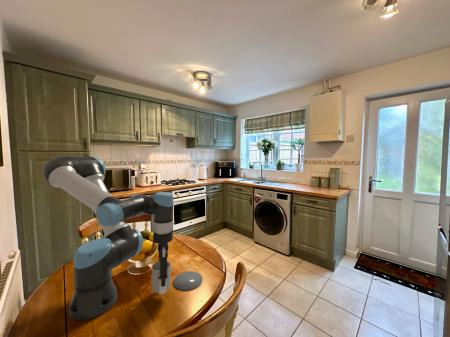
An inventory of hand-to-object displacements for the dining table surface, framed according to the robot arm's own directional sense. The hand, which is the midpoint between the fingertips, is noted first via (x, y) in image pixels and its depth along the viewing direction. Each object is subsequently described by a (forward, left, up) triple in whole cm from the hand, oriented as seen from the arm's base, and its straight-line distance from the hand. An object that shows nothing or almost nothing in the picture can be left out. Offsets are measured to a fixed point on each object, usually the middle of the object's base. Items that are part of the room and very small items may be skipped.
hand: (162, 284), depth 78 cm
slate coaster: (+11, +6, -4) cm, 14 cm away
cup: (0, 0, -1) cm, 1 cm away
